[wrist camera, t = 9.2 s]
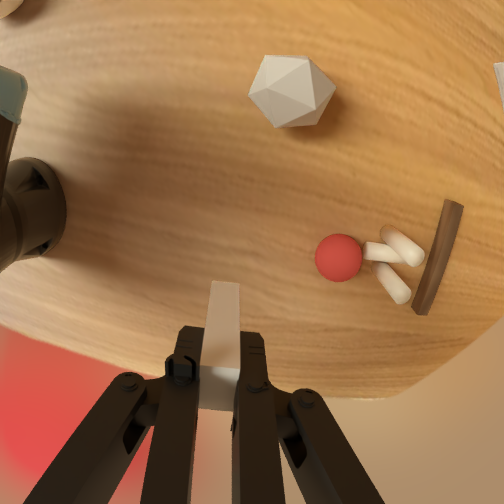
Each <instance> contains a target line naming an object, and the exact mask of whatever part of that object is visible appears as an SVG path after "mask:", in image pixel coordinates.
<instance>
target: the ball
mask: <svg viewBox="0 0 504 504" xmlns="http://www.w3.org/2000/svg"><path fill="white" fill-rule="evenodd" d="M315 263H316V266H317V269H318V271H319V272H320V273H321V275H322V276H324V277H325V278H326V279H328V280H330V281H334V282H344V281H347V280H349V279H351V278H352V277H354V276H355V275H356V274H357V272H358V271H359V269H360V267H361V264H362V252H361V249H360V247H359V245H358V244H357V242H356V241H355V240H354V239H352V238H351V237H349V236H347V235H343V234H334V235H330V236H328V237H326V238H325V239H324V240H322V242H321V243H320V244H319V246H318V247H317V250H316V253H315Z"/></svg>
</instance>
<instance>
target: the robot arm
mask: <svg viewBox="0 0 504 504" xmlns="http://www.w3.org/2000/svg"><path fill="white" fill-rule="evenodd" d="M27 91H28V84H27V81H26V79H25V77H24V76H23V75H21V74H20V73H18V72H15V71H13V70H11V69H8V68H5V67H3V66H0V272H2V271H3V270H4V269H5V268H7V267H8V266H9V265H10V264H12V263H13V262H14V261H20V260H25V259H30V258H36V257H39V256H41V255H43V254H45V253H46V252H48V251H49V250H50V249H52V248H53V247H54V246H55V245H56V244H57V243H58V241H59V240H60V238H61V236H62V234H63V231H64V227H65V222H66V203H65V198H64V194H63V190H62V187H61V185H60V183H59V181H58V179H57V177H56V175H55V174H54V173H53V171H52V170H51V169H50V168H49V167H48V166H47V165H46V164H45V163H43V162H42V161H40V160H38V159H35V158H31V157H25V158H20V159H17V160H13V161H11V162H9V159H10V155H11V151H12V147H13V143H14V139H15V135H16V132H17V128H18V125H19V124H20V123H21V118H20V117H21V113H22V109H23V105H24V102H25V99H26V95H27ZM198 408H201V409H211V410H221V411H233V419H232V425H231V430H230V431H232V504H286V503H285V494H284V486H283V476H282V467H281V458H280V450H279V443H280V445H281V447H282V450H283V452H284V454H285V457H286V459H287V461H288V464H289V466H290V468H291V470H292V473H293V475H294V477H295V479H296V482H297V484H298V486H299V488H300V491H301V493H302V495H303V497H304V499H305V502H306V504H385V503H384V501H383V500H382V498H381V496H380V495H379V493H378V491H377V489H376V488H375V486H374V484H373V483H372V481H371V480H370V478H369V476H368V475H367V473H366V471H365V469H364V468H363V466H362V464H361V463H360V461H359V459H358V458H357V456H356V454H355V453H354V451H353V449H352V448H351V446H350V444H349V443H348V441H347V439H346V437H345V436H344V434H343V432H342V431H341V429H340V427H339V426H338V424H337V422H336V421H335V419H334V417H333V415H332V414H331V412H330V410H329V408H328V407H327V405H326V403H325V402H324V400H323V398H322V397H321V396H320V395H319V393H317V392H315V391H314V390H311V389H307V388H306V389H298V390H296V391H295V392H293V393H288V392H285V391H282V390H279V389H277V388H276V387H274V386H273V385H272V384H271V382H270V381H269V379H268V373H267V364H266V355H265V346H264V339H263V338H262V337H261V335H260V334H259V333H255V332H244V331H240V285H239V283H232V282H223V281H214V280H212V284H211V291H210V297H209V304H208V310H207V317H206V324H205V328H200V327H192V326H184V327H183V328H182V329H181V330H180V331H179V334H178V338H177V342H176V347H175V350H174V354H172V355H170V356H169V357H167V359H166V361H165V375H164V376H163V377H160V378H157V379H150V380H144V378H143V377H142V376H141V375H139V374H137V373H133V372H124V373H122V374H119V375H118V376H117V377H115V378H114V380H113V381H112V382H111V384H110V385H109V386H108V387H107V389H106V390H105V391H104V393H103V394H102V395H101V397H100V398H99V399H98V401H97V402H96V403H95V405H94V406H93V407H92V409H91V410H90V411H89V413H88V414H87V415H86V417H85V418H84V419H83V421H82V422H81V423H80V425H79V426H78V427H77V429H76V430H75V431H74V433H73V434H72V435H71V437H70V438H69V440H68V441H67V442H66V444H65V445H64V446H63V448H62V449H61V450H60V452H59V453H58V455H57V456H56V457H55V459H54V460H53V461H52V463H51V464H50V466H49V467H48V468H47V470H46V471H45V473H44V474H43V475H42V477H41V478H40V480H39V481H38V482H37V484H36V485H35V487H34V488H33V490H32V491H31V493H30V494H29V495H28V497H27V498H26V500H25V501H24V503H23V504H108V502H109V500H110V499H111V497H112V495H113V493H114V492H115V490H116V488H117V486H118V484H119V482H120V481H121V479H122V477H123V475H124V474H125V472H126V470H127V468H128V467H129V465H130V463H131V461H132V459H133V458H134V456H135V454H136V452H137V450H138V449H139V447H140V445H141V443H142V442H143V440H144V438H145V436H146V434H147V433H148V431H149V429H150V427H151V426H154V431H153V436H152V441H151V446H150V451H149V456H148V462H147V467H146V472H145V477H144V483H143V489H142V495H141V501H140V504H190V501H191V486H192V474H193V462H194V451H195V440H196V430H197V420H198ZM278 440H279V441H278Z"/></svg>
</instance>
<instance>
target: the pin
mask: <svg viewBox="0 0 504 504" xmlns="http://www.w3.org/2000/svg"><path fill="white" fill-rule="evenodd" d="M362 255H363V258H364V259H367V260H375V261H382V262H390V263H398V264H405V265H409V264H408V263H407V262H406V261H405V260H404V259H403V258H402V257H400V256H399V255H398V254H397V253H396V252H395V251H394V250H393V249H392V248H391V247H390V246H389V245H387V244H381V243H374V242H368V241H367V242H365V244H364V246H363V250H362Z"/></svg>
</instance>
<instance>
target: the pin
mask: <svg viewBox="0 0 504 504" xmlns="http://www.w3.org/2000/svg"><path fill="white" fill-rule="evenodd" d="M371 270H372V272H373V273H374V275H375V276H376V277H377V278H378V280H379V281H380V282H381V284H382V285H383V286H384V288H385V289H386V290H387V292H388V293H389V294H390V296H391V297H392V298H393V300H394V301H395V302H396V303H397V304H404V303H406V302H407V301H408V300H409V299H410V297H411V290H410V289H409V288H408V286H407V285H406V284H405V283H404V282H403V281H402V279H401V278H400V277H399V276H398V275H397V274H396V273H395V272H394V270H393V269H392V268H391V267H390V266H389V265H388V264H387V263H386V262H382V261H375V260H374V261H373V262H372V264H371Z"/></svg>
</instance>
